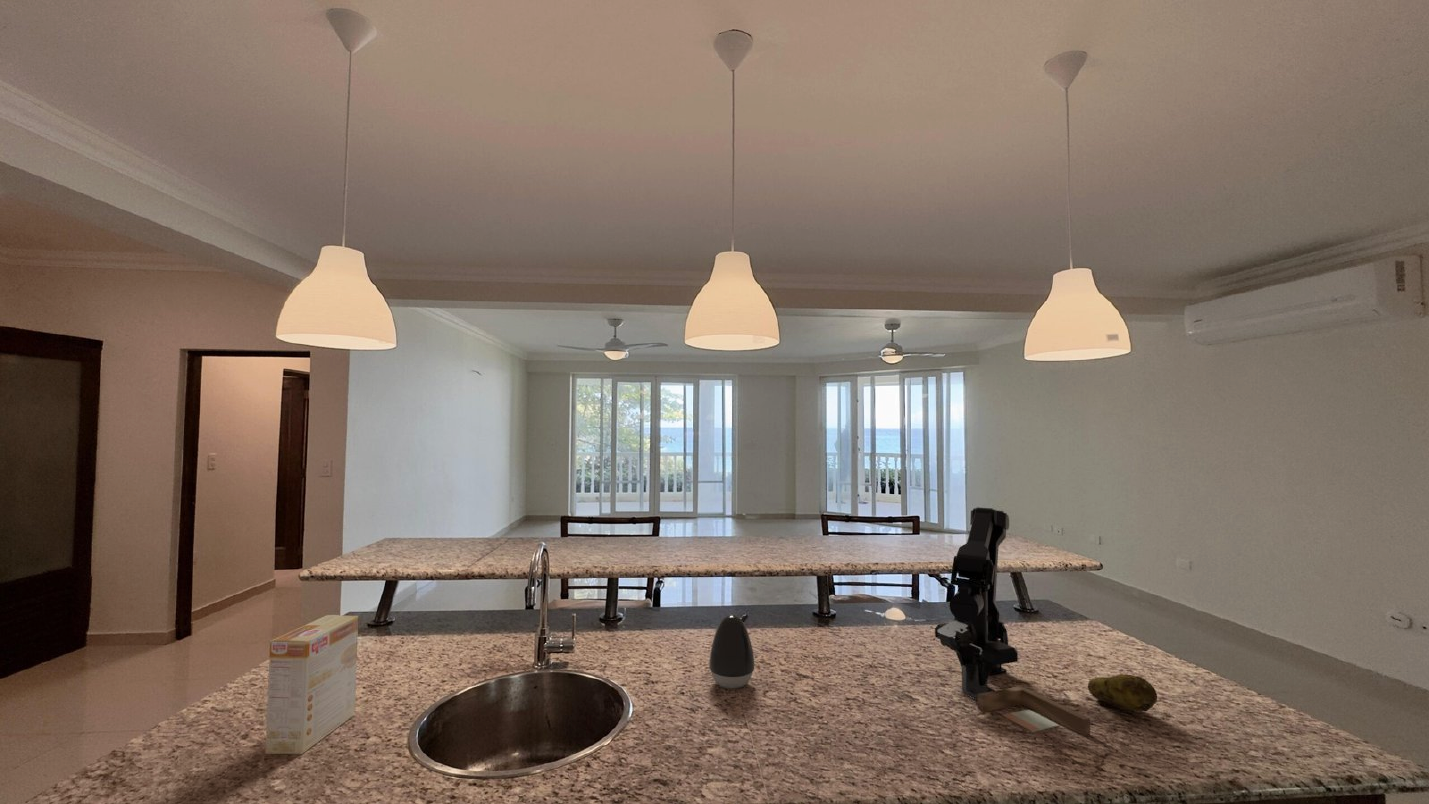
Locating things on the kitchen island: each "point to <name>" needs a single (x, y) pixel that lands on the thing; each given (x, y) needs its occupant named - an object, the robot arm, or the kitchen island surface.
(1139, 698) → the potato
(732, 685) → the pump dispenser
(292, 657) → the coffeecake box
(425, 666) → the kitchen island surface
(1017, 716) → the pad
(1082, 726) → the wooden l-shaped block
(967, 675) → the bracket
